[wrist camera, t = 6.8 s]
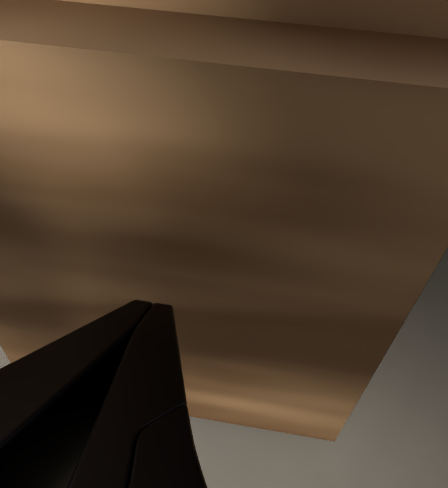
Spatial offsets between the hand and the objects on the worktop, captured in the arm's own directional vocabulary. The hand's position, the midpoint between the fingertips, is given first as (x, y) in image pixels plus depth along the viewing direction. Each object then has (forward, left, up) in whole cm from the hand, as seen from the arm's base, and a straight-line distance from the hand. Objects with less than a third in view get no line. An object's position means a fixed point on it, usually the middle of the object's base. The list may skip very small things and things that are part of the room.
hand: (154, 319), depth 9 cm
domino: (-1, 0, -7) cm, 7 cm away
